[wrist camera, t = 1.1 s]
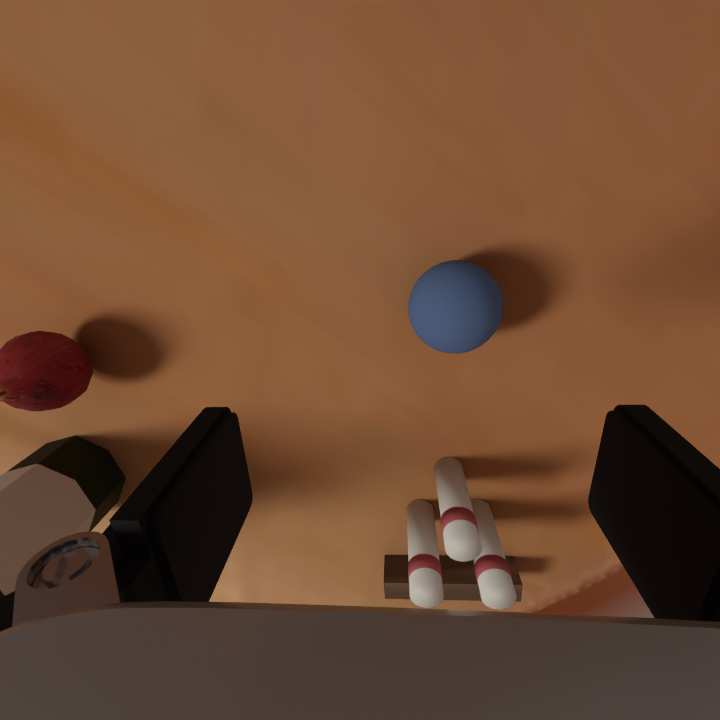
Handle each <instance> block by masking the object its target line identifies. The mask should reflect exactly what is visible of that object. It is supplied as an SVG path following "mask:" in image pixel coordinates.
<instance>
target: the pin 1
mask: <svg viewBox="0 0 720 720" xmlns="http://www.w3.org/2000/svg"><path fill="white" fill-rule="evenodd" d="M407 532H408V562H409V563H408V580H409V592H410V599H411V600H412V602H413V603H415V604H416V605H418V606H421V607H434V606H436V605H438V604H440V603H441V602H442V600H443V598H444V594H443V586H442V572H441V564H440V561H439V552H438V544H437V535H436V527H435V518H434V510H433V506H432V505H431V504H430V503H429V502H428V501H425V500H415V501H412V502H411V503H410V504H409V505H408V507H407Z"/></svg>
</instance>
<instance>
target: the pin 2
mask: <svg viewBox="0 0 720 720" xmlns="http://www.w3.org/2000/svg"><path fill="white" fill-rule="evenodd" d="M471 504H472V508H473V512H474V515H475V518H476V522H477V526H478V530H479V537H480V541H481V545H482V551H481V553H480V555H479V556H478V557H477V558H475V559H473V561H474V569H475V574H476V579H477V584H478V586H479V590H480V595H481V599H482V602H483V603H484V604H485V605H486V606H488V607H490V608H493V609H504V608H507V607H509V606H511V605H512V604H513V603H514V602H515V601H516V592H515V589H514V585H513V582H512V576H511V573H510V570H509V566H508V563H507V561H506V559H505V555H504V552H503V549H502V545H501V542H500V539H499V535H498V532H497V529H496V525H495V522H494V519H493V515H492V512H491V509H490V506H489V504H488V503H487V502H485V501H483V500H479V499H475V500H471Z"/></svg>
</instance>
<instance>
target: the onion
mask: <svg viewBox="0 0 720 720" xmlns="http://www.w3.org/2000/svg"><path fill="white" fill-rule="evenodd" d="M92 374H93V369H92V364H91V360H90V358H89V356H88V355H87V353H86V352H85V350H84V349H83V348H82V347H81V346H80V345H79V344H77V343H76V342H75V341H74V340H72V339H70V338H68V337H66V336H64V335H62V334H58V333H53V332H45V331H36V332H30V333H27V334H23V335H20V336H17V337H14V338H13V339H11V340H9V341H8V342H6V344H5V345H4V346H3V347H2V348H1V349H0V401H3V402H5V403H7V404H9V405H10V406H12V407H15V408H19V409H25V410H29V411H45V410H51V409H56V408H61V407H63V406H65V405H67V404H69V403H71V402H72V401H74V400H75V399H76V398H78V397H79V396H80V395H81V394H83V393H84V392H85V391H86V390H87V388H88V385H89V382H90V379H91V377H92Z"/></svg>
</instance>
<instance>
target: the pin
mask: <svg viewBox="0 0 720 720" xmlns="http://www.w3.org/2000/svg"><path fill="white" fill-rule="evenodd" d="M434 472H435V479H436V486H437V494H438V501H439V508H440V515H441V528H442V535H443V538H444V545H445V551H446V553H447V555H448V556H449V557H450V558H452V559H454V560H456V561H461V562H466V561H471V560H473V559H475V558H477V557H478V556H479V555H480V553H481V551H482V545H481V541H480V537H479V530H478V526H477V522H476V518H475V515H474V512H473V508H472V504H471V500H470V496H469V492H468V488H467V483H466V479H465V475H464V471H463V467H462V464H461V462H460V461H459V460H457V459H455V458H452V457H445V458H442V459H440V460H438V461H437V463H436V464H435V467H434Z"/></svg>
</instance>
